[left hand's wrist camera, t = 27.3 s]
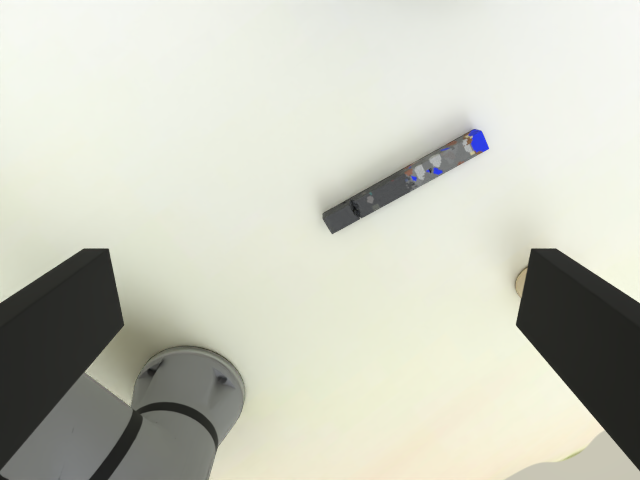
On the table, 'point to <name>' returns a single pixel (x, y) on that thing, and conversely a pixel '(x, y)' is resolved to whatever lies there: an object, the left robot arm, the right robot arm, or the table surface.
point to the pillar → (406, 180)
